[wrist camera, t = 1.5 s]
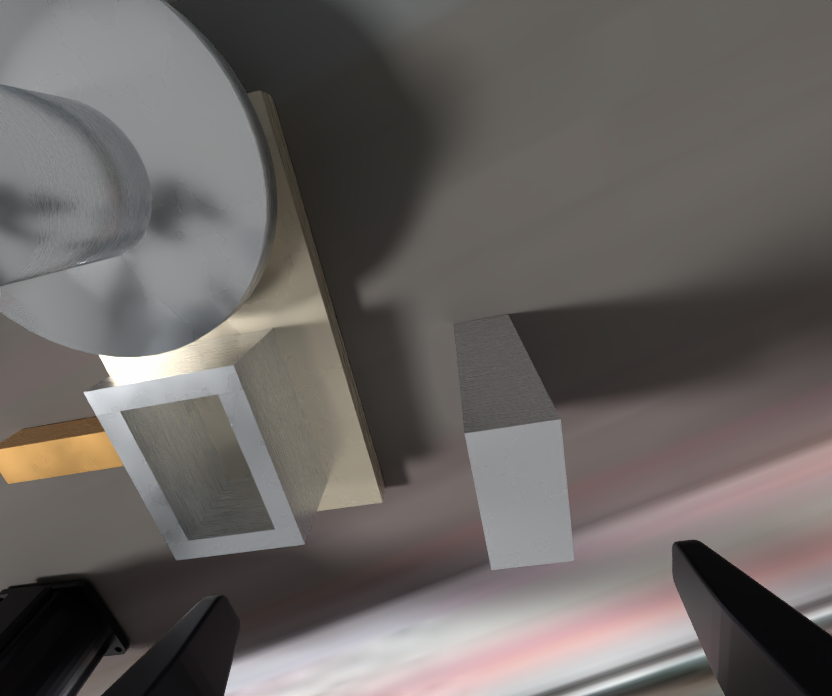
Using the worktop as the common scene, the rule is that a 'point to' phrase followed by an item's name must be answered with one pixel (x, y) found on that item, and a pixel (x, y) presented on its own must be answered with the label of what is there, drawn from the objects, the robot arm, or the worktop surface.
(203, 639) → the robot arm
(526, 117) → the worktop surface
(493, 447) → the grey rectangular block
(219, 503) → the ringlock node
